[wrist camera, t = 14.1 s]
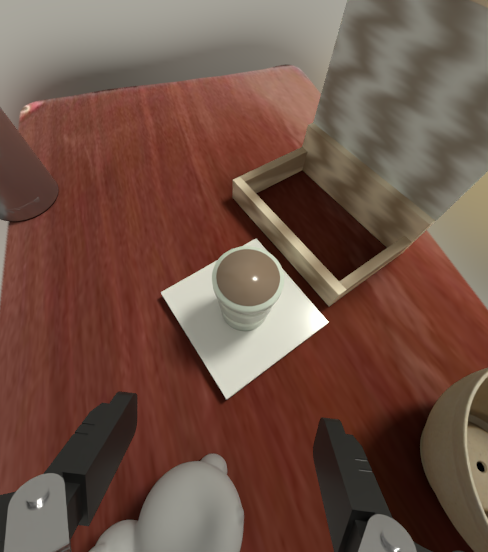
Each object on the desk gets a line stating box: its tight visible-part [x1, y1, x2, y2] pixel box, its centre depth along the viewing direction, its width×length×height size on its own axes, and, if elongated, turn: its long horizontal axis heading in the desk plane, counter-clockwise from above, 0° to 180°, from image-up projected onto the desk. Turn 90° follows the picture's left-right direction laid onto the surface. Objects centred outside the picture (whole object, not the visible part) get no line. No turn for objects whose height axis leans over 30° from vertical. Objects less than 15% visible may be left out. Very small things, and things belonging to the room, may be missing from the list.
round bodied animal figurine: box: [89, 454, 244, 552], centre depth 20 cm, size 8×12×9 cm, turn 111°
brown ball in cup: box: [212, 246, 284, 331], centre depth 28 cm, size 6×6×8 cm
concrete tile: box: [161, 239, 328, 400], centre depth 32 cm, size 14×14×1 cm
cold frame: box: [233, 0, 488, 306], centre depth 28 cm, size 21×14×24 cm
